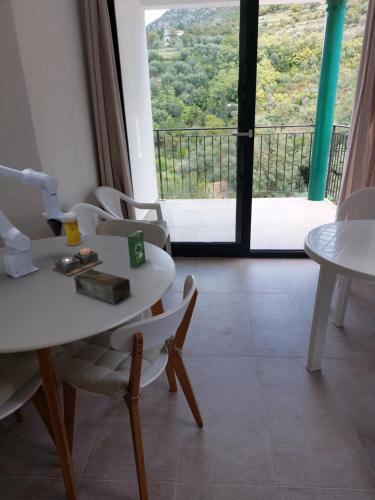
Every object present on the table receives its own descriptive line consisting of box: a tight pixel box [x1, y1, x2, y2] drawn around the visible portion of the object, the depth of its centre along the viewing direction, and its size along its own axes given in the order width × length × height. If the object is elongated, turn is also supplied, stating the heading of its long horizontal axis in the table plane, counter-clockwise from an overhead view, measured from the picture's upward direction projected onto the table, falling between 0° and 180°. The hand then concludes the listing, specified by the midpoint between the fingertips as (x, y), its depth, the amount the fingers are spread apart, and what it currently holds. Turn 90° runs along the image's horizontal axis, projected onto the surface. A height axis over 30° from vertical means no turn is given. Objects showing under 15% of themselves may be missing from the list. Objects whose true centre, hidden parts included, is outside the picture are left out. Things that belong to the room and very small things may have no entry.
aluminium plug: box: [61, 256, 73, 264], centre depth 133 cm, size 4×4×4 cm
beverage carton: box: [73, 268, 132, 305], centre depth 114 cm, size 8×19×7 cm, turn 56°
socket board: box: [51, 249, 104, 278], centre depth 137 cm, size 16×12×4 cm
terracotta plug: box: [79, 247, 91, 257], centre depth 139 cm, size 4×4×4 cm
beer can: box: [63, 211, 82, 247], centre depth 160 cm, size 6×6×15 cm
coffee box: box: [126, 230, 146, 269], centre depth 134 cm, size 8×3×13 cm, turn 158°
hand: (58, 235), depth 144 cm, fingers closed
